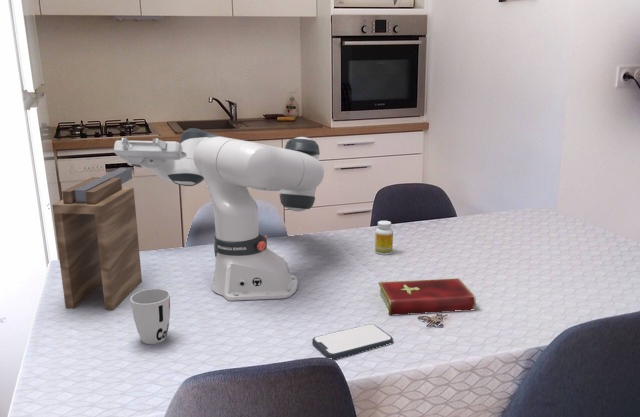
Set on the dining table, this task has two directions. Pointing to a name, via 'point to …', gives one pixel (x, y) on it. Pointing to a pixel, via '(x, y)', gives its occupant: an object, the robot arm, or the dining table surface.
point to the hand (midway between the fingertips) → (139, 140)
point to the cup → (151, 314)
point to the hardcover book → (426, 296)
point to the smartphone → (351, 341)
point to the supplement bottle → (383, 238)
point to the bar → (119, 173)
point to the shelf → (98, 243)
